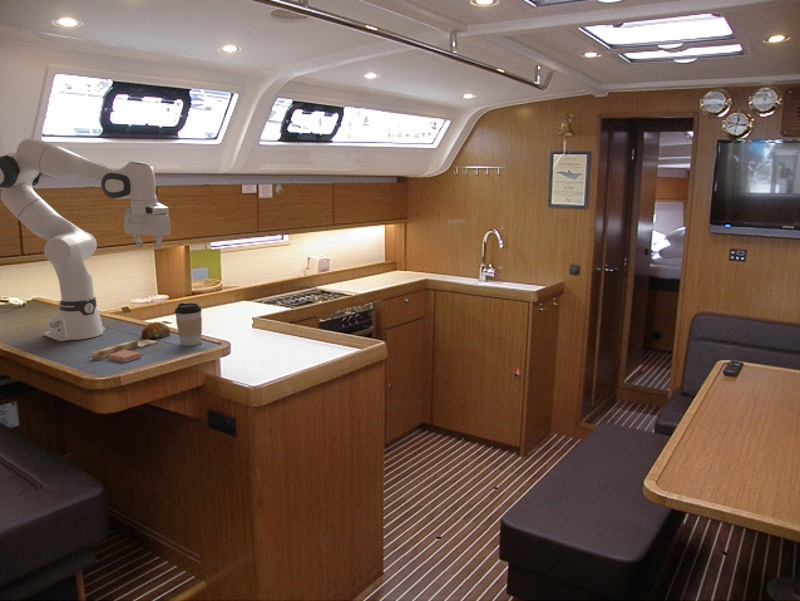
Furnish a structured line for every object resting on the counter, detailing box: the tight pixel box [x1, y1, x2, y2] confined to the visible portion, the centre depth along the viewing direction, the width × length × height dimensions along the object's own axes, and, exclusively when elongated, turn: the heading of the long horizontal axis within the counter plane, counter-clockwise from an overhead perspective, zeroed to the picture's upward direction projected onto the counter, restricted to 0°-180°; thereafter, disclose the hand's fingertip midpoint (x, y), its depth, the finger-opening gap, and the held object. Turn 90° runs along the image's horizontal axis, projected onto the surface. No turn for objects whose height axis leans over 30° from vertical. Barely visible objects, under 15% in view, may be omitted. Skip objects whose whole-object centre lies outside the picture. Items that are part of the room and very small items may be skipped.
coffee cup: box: [174, 302, 203, 348], centre depth 227 cm, size 9×9×15 cm
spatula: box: [91, 339, 159, 361], centre depth 220 cm, size 23×6×2 cm, turn 151°
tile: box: [109, 350, 142, 363], centre depth 211 cm, size 2×6×8 cm
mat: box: [88, 342, 177, 365], centre depth 219 cm, size 16×23×1 cm
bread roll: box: [141, 321, 171, 341], centre depth 239 cm, size 10×10×8 cm
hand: (148, 247), depth 230 cm, fingers open, 8 cm apart
